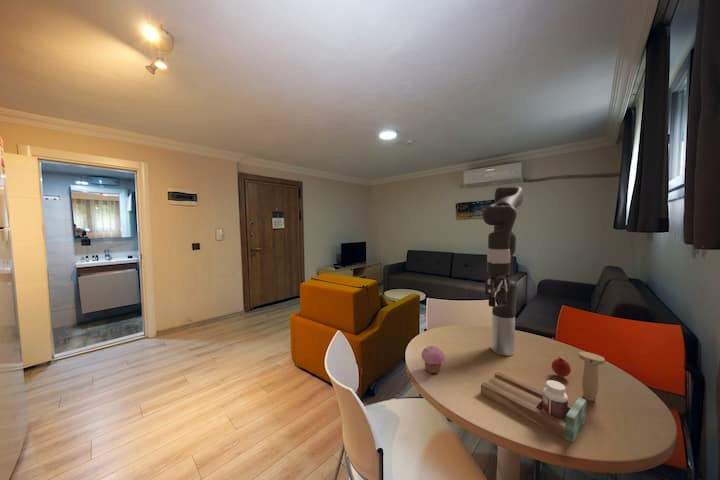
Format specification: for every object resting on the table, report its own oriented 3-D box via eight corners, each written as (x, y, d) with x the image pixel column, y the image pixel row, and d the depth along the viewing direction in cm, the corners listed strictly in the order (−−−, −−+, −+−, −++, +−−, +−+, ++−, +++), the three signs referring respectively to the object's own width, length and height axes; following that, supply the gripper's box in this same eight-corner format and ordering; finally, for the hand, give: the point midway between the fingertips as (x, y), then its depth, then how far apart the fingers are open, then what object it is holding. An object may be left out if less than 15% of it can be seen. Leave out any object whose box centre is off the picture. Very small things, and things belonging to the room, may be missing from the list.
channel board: (497, 380, 100) (497, 362, 99) (585, 421, 79) (586, 399, 79) (480, 393, 93) (481, 374, 92) (572, 442, 72) (573, 418, 72)
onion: (567, 374, 103) (568, 354, 102) (572, 382, 98) (573, 362, 97) (549, 371, 105) (550, 351, 105) (553, 379, 100) (554, 359, 99)
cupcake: (438, 364, 112) (438, 341, 111) (448, 376, 103) (448, 352, 102) (418, 366, 110) (418, 343, 110) (426, 378, 102) (426, 353, 101)
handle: (601, 406, 85) (604, 362, 84) (576, 397, 90) (578, 355, 89) (602, 399, 89) (605, 356, 88) (577, 390, 93) (579, 350, 92)
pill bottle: (570, 420, 80) (572, 386, 79) (562, 430, 76) (563, 394, 75) (547, 408, 85) (548, 376, 84) (538, 416, 82) (539, 383, 81)
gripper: (497, 257, 104) (496, 297, 105) (478, 261, 95) (477, 305, 97) (517, 259, 98) (516, 301, 99) (500, 264, 89) (498, 311, 91)
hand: (497, 303), depth 98 cm, fingers open, 8 cm apart
